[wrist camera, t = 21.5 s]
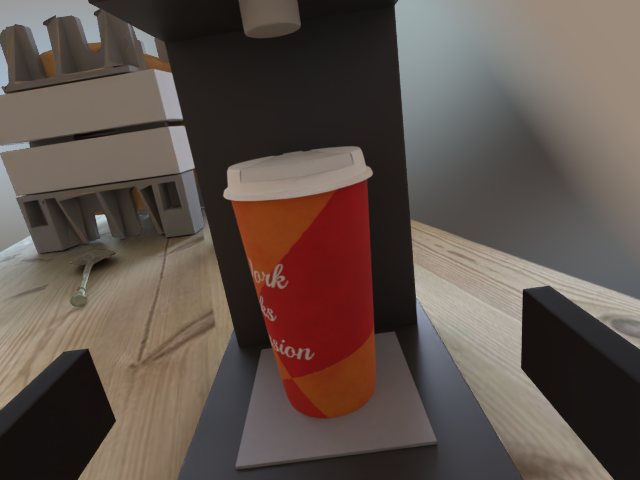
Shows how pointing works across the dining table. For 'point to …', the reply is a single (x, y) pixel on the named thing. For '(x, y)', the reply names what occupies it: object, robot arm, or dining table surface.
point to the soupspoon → (87, 272)
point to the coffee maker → (385, 240)
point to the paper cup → (312, 271)
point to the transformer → (95, 135)
